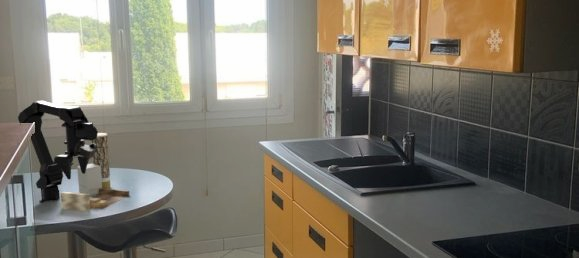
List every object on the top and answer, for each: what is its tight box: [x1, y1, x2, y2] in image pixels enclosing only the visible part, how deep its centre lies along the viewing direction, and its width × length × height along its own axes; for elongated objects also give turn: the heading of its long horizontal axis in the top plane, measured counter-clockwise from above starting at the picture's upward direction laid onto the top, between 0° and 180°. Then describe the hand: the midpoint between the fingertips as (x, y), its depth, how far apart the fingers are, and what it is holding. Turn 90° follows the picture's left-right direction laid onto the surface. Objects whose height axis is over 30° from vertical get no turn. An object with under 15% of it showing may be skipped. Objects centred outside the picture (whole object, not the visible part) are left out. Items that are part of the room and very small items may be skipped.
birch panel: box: [60, 191, 91, 212], centre depth 233 cm, size 12×2×7 cm, turn 73°
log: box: [91, 132, 111, 189], centre depth 262 cm, size 7×7×25 cm
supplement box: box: [77, 163, 102, 196], centre depth 256 cm, size 7×7×13 cm
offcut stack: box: [89, 196, 109, 209], centre depth 238 cm, size 13×4×3 cm, turn 73°
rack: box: [90, 188, 130, 210], centre depth 245 cm, size 14×19×3 cm
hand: (76, 176), depth 238 cm, fingers open, 9 cm apart
